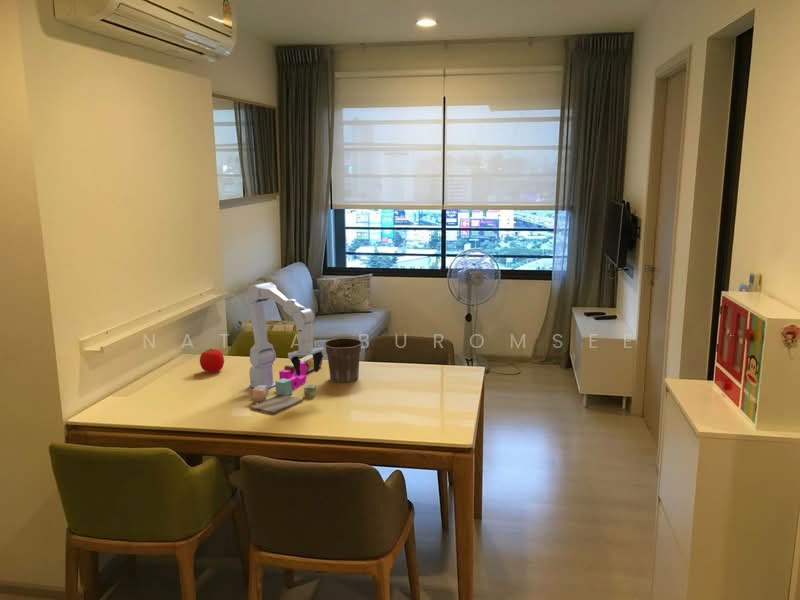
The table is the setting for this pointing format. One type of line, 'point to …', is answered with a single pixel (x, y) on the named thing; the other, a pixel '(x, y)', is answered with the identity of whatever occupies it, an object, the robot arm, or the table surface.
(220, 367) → the tomato
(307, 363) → the snack package
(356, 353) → the plant pot
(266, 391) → the grey cube
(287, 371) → the toy block
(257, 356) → the robot arm
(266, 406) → the board
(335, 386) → the table surface
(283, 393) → the teal block
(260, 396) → the peach rounded piece
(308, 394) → the olive block
